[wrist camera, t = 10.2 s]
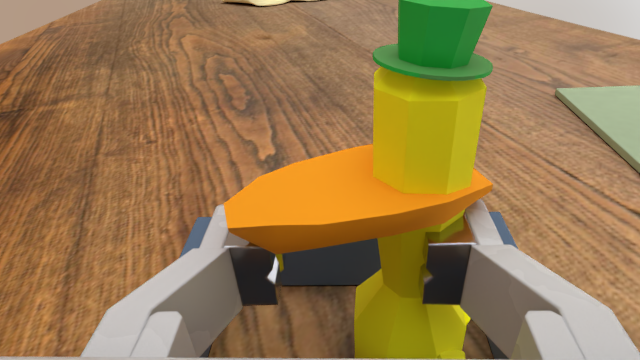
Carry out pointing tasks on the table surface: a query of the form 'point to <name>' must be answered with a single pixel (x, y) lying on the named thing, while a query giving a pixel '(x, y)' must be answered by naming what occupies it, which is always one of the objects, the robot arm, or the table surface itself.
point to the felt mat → (609, 116)
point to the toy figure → (391, 180)
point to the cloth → (263, 2)
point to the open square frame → (336, 263)
